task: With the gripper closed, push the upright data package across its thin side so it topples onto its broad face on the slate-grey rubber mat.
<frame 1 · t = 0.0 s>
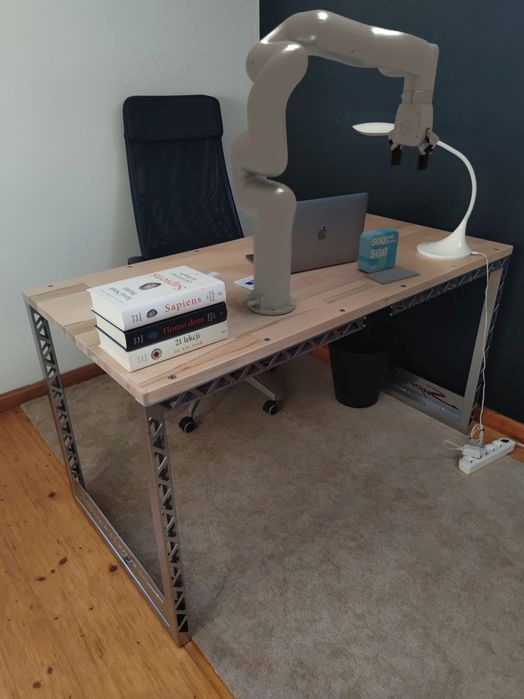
hand: (408, 167, 140), 31 cm above the table, fingers open, 9 cm apart
mini dv tape: (374, 254, 173), on the table
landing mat: (392, 275, 154), on the table
data package: (375, 269, 160), on the table
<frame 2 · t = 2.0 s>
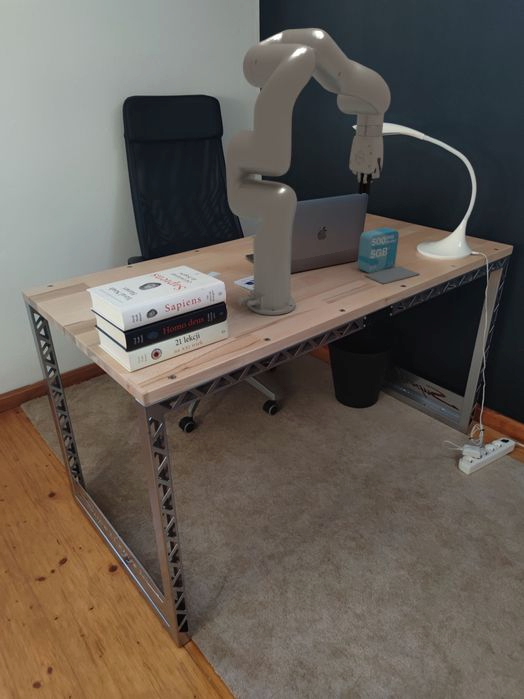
hand: (363, 195, 157), 21 cm above the table, fingers closed
nothing on the table moved.
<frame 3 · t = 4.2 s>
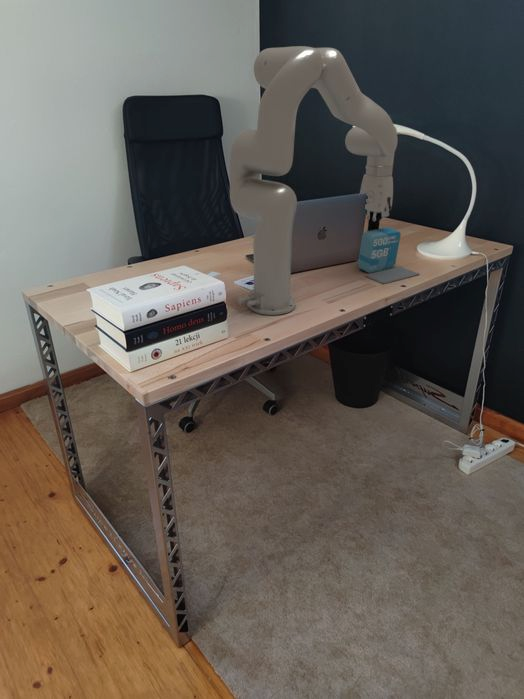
hand: (372, 232, 157), 11 cm above the table, fingers closed
data package: (375, 268, 160), on the table, touching gripper
everything else where it was.
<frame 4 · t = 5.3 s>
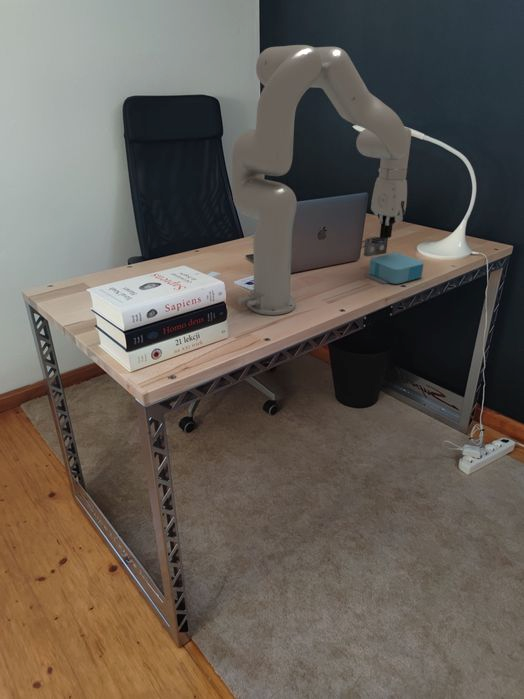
hand: (385, 237, 153), 11 cm above the table, fingers closed
data package: (381, 262, 157), point 3 cm above the table, touching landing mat
everything else where it was.
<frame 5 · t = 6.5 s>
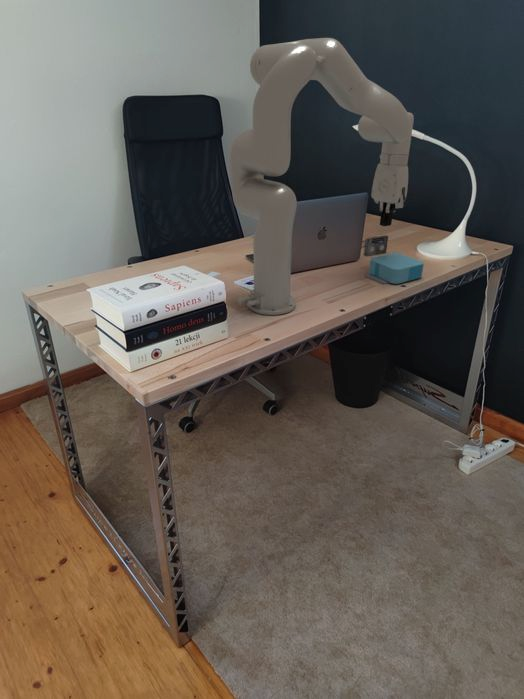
hand: (385, 225, 151), 14 cm above the table, fingers closed
nothing on the table moved.
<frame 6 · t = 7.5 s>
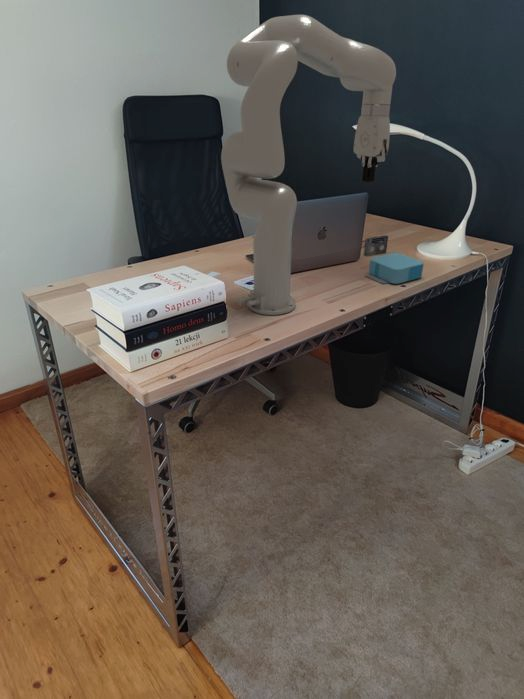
hand: (368, 181, 147), 27 cm above the table, fingers closed
nothing on the table moved.
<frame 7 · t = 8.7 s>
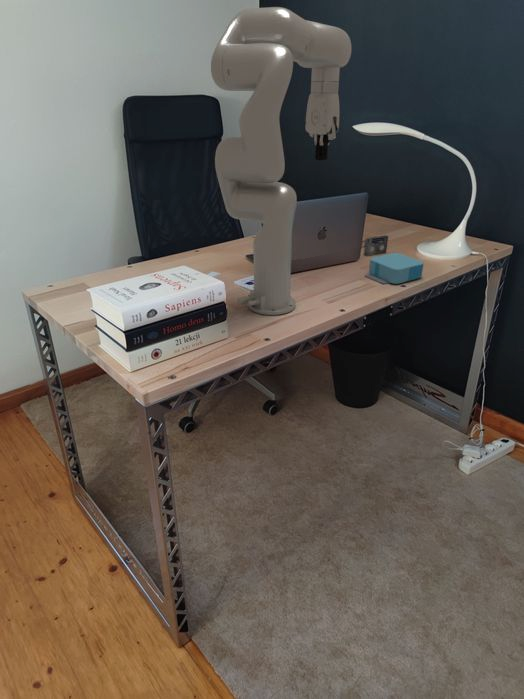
hand: (321, 159, 148), 32 cm above the table, fingers closed
nothing on the table moved.
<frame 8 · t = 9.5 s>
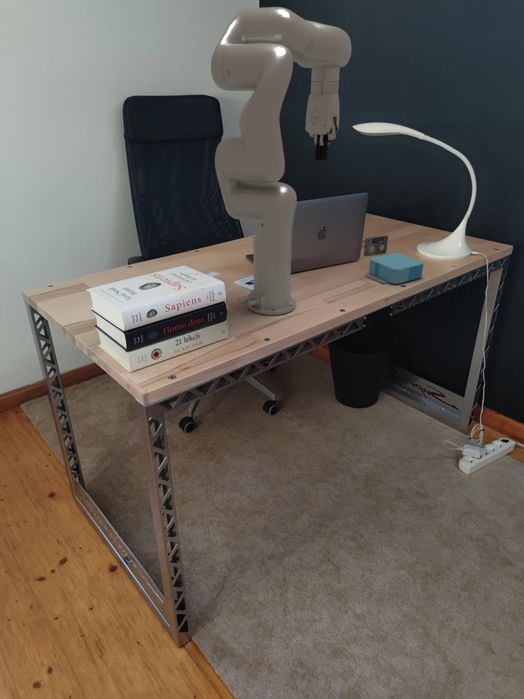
hand: (321, 159, 148), 32 cm above the table, fingers closed
nothing on the table moved.
at the end: data package tilted 90°; data package touching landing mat; data package inside the target area (1.0 cm from its centre), point 2.7 cm above the table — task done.
